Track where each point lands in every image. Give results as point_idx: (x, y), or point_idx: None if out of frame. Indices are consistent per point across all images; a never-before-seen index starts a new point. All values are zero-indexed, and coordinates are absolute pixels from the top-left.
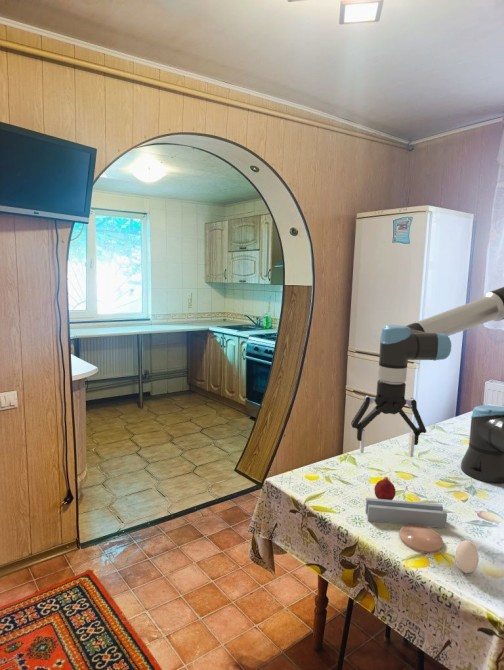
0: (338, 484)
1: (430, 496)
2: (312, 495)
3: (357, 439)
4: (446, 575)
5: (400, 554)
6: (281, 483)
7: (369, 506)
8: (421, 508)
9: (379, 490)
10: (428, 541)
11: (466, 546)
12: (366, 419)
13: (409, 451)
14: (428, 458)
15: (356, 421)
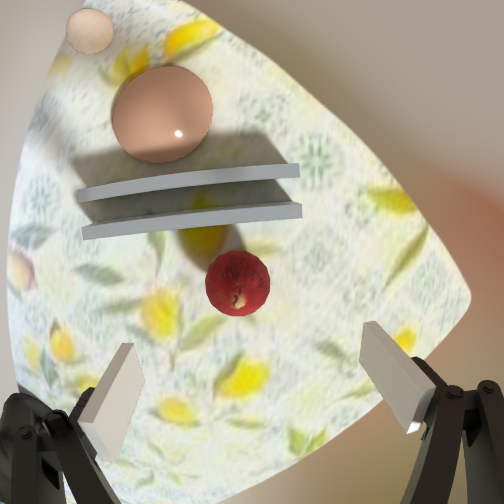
0: (348, 333)
1: (117, 333)
2: (412, 259)
3: (421, 359)
4: (142, 20)
5: (222, 49)
6: (459, 292)
7: (296, 166)
8: (137, 218)
9: (258, 263)
10: (147, 95)
11: (85, 9)
12: (456, 454)
13: (135, 373)
14: (133, 468)
15: (498, 410)
